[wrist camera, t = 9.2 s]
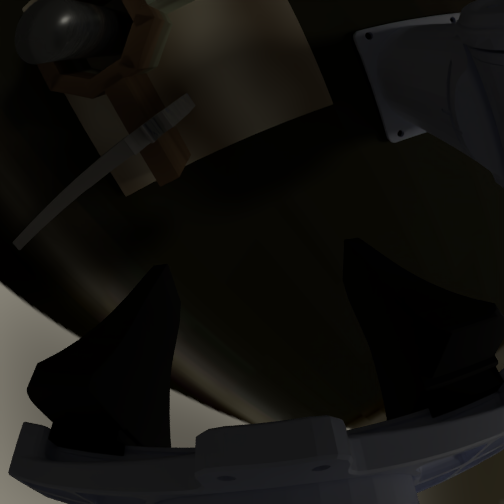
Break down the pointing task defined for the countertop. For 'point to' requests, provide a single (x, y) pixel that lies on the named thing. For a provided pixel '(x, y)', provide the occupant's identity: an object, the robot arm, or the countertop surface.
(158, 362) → the robot arm
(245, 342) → the countertop surface
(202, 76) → the hinge base
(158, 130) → the caliper
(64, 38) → the steel pin
